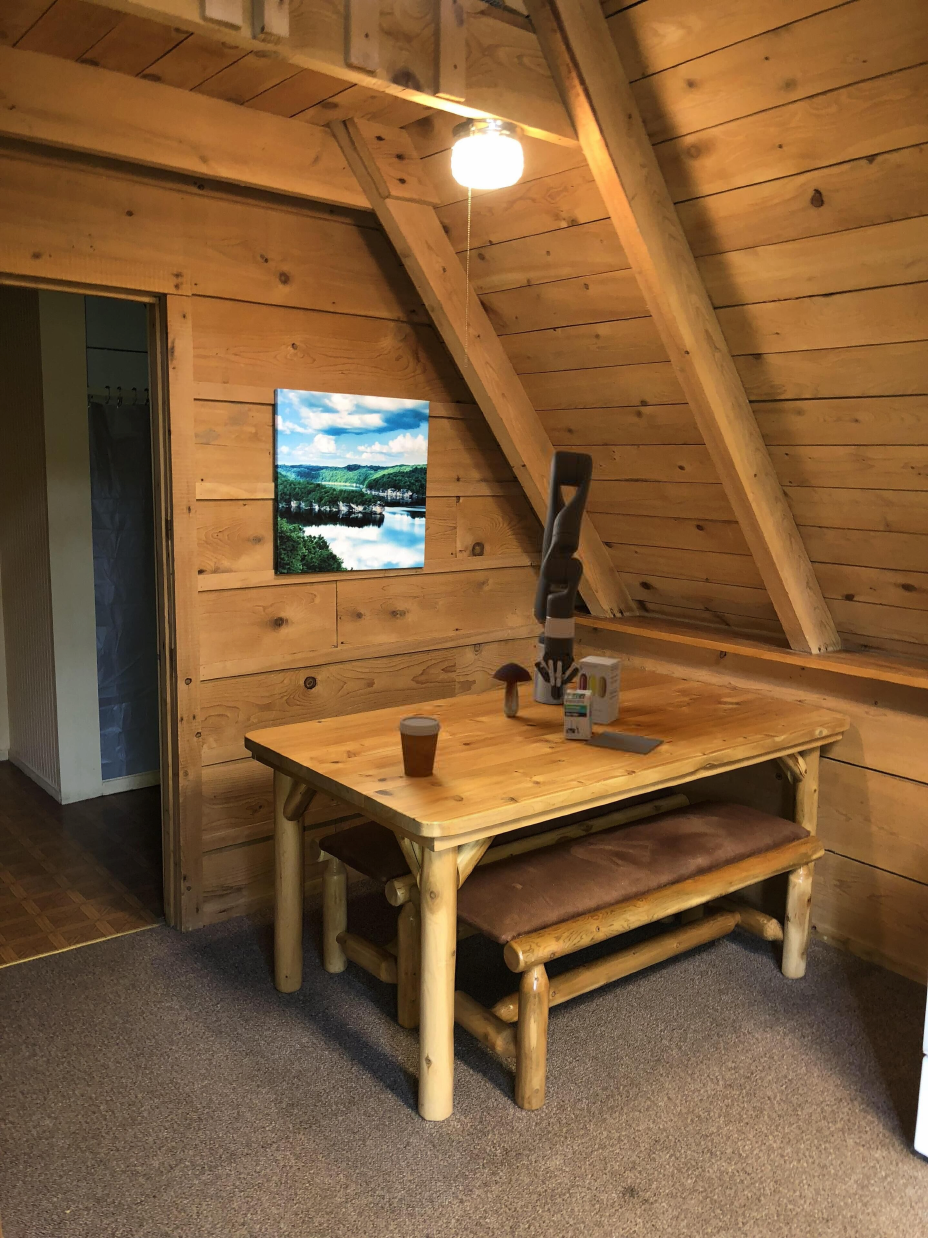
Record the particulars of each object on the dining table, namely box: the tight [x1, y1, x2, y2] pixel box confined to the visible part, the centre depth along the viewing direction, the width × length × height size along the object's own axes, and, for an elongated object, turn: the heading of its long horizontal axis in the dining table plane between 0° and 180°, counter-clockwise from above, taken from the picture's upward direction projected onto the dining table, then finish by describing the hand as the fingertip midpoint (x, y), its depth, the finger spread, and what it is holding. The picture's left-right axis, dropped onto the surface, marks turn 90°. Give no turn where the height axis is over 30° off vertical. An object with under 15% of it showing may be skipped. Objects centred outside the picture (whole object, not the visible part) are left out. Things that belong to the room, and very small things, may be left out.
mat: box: [584, 730, 665, 755], centre depth 252 cm, size 16×14×1 cm
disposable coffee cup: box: [397, 715, 442, 778], centre depth 222 cm, size 10×10×12 cm
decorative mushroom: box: [491, 662, 533, 717], centre depth 273 cm, size 11×11×15 cm
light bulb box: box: [563, 688, 594, 741], centre depth 257 cm, size 11×7×11 cm, turn 168°
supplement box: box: [576, 655, 622, 726], centre depth 273 cm, size 10×9×17 cm
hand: (556, 699), depth 259 cm, fingers closed
